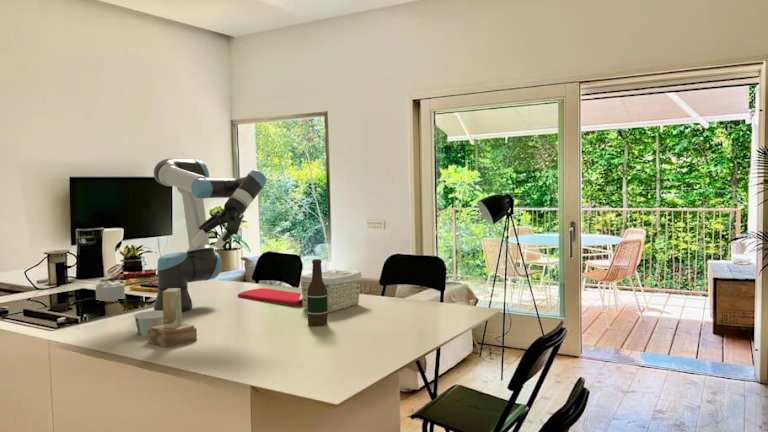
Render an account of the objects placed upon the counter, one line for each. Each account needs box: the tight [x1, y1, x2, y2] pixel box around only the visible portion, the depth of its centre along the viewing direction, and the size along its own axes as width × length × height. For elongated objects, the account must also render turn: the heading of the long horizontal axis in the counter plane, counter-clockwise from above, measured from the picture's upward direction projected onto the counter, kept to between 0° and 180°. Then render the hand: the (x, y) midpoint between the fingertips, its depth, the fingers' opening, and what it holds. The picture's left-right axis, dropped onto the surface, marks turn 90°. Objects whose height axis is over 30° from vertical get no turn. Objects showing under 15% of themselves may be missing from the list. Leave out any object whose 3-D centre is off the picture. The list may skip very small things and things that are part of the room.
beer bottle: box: [307, 258, 329, 327], centre depth 214 cm, size 8×8×24 cm
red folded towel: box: [237, 287, 303, 307], centre depth 264 cm, size 16×41×4 cm, turn 50°
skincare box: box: [163, 288, 183, 328], centre depth 191 cm, size 6×4×12 cm
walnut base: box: [147, 322, 198, 349], centre depth 191 cm, size 11×11×5 cm
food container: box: [133, 310, 164, 337], centre depth 204 cm, size 12×12×6 cm
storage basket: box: [300, 269, 362, 313], centre depth 245 cm, size 24×16×15 cm
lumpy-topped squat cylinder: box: [95, 280, 126, 301], centre depth 265 cm, size 10×13×9 cm
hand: (205, 246), depth 208 cm, fingers open, 13 cm apart
